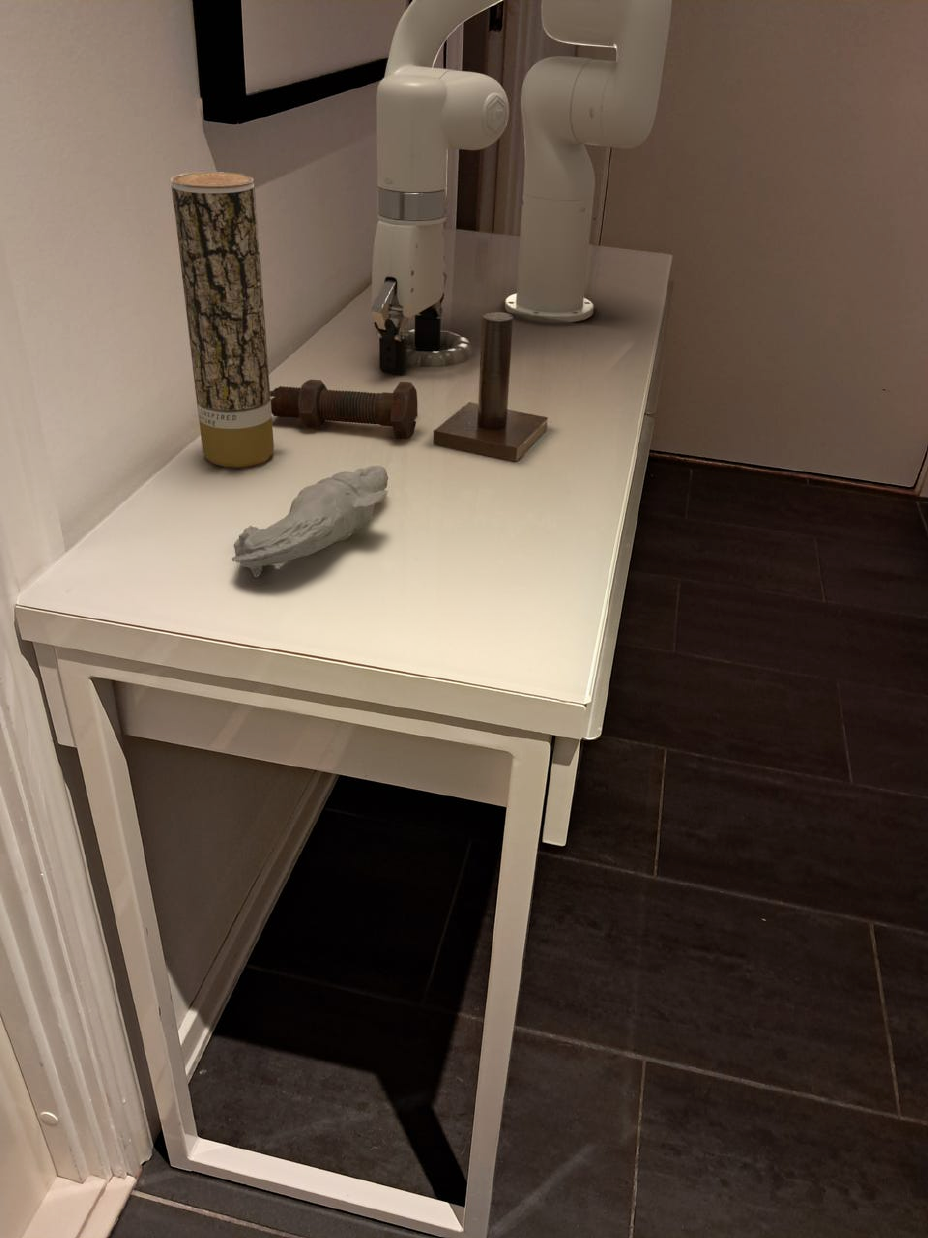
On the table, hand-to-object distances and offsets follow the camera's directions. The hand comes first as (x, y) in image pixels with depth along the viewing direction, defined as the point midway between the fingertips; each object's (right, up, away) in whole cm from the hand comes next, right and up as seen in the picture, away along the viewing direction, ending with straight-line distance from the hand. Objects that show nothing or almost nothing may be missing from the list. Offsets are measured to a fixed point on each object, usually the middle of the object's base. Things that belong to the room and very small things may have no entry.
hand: (410, 360), depth 117 cm
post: (+9, -12, -15) cm, 21 cm away
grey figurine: (-6, -24, -33) cm, 41 cm away
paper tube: (-16, -15, -21) cm, 30 cm away
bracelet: (+2, +2, +3) cm, 4 cm away
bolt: (-6, -11, -14) cm, 19 cm away
